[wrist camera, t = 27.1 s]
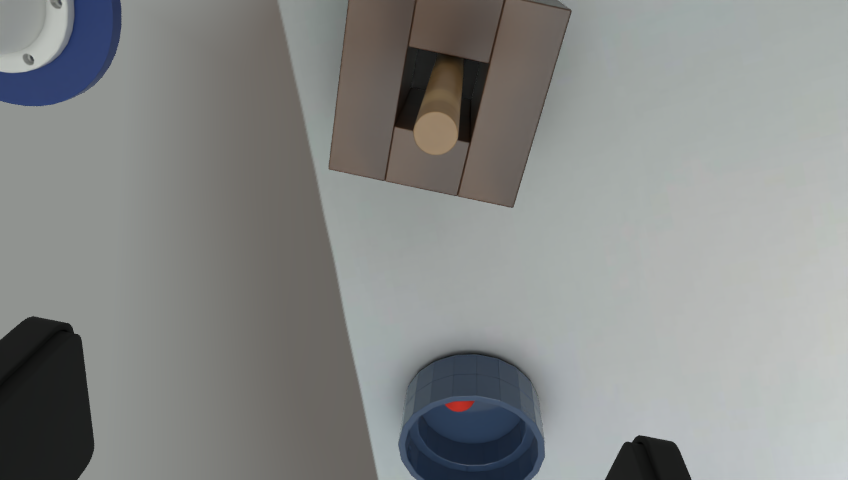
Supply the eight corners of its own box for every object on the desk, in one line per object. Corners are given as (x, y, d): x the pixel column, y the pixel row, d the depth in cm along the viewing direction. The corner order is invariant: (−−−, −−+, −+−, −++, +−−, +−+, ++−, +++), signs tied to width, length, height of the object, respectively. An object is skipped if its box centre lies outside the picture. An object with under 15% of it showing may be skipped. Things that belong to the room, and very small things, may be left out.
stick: (439, 61, 41) (412, 154, 23) (440, 35, 40) (413, 110, 22) (464, 62, 40) (457, 156, 23) (466, 36, 40) (459, 112, 22)
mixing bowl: (396, 435, 58) (388, 484, 53) (419, 337, 52) (413, 382, 47) (517, 459, 58) (522, 511, 53) (554, 365, 52) (563, 413, 47)
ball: (445, 417, 50) (442, 410, 53) (480, 412, 50) (476, 405, 54) (440, 381, 51) (437, 376, 54) (475, 375, 51) (470, 371, 54)
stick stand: (357, 122, 43) (328, 169, 34) (381, -43, 38) (352, -38, 29) (505, 154, 43) (513, 208, 35) (549, -7, 38) (572, 9, 29)
